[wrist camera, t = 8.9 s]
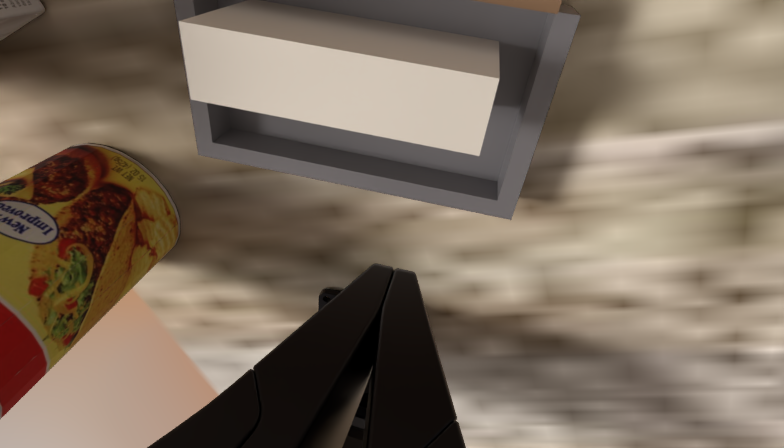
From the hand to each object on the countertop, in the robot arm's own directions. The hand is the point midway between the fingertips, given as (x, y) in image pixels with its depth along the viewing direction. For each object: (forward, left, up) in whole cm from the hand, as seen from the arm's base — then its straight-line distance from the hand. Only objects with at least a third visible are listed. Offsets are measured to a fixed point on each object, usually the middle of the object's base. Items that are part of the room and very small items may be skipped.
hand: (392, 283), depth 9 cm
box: (0, +3, -12) cm, 13 cm away
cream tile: (+2, +3, -9) cm, 10 cm away
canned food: (-10, +18, -12) cm, 24 cm away
